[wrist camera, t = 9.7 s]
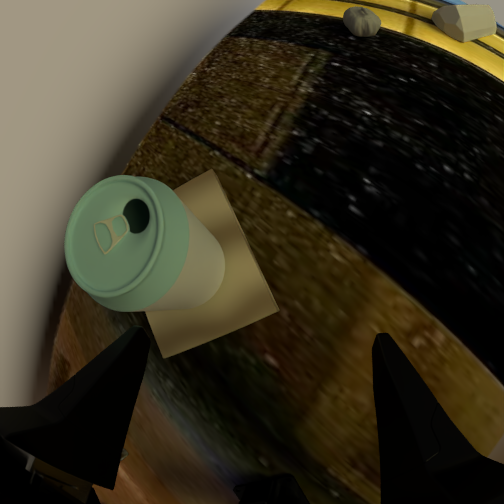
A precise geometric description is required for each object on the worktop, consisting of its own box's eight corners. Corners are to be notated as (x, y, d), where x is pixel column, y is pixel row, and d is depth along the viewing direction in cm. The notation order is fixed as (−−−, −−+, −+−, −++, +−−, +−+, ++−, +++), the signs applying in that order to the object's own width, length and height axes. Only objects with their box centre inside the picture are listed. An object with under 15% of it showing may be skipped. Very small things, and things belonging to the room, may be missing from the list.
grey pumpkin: (377, 47, 26) (381, 19, 21) (339, 37, 27) (340, 9, 22) (379, 29, 27) (383, 4, 22) (345, 20, 28) (346, -5, 23)
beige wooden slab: (280, 310, 24) (277, 311, 21) (175, 354, 25) (163, 358, 22) (219, 179, 27) (211, 168, 25) (132, 229, 28) (118, 223, 26)
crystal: (468, 0, 21) (420, 2, 23) (494, 5, 16) (453, 6, 17) (475, 26, 26) (430, 37, 28) (500, 34, 21) (462, 44, 23)
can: (167, 216, 24) (91, 152, 12) (239, 242, 23) (203, 182, 11) (138, 289, 23) (40, 274, 11) (207, 322, 22) (139, 340, 10)
